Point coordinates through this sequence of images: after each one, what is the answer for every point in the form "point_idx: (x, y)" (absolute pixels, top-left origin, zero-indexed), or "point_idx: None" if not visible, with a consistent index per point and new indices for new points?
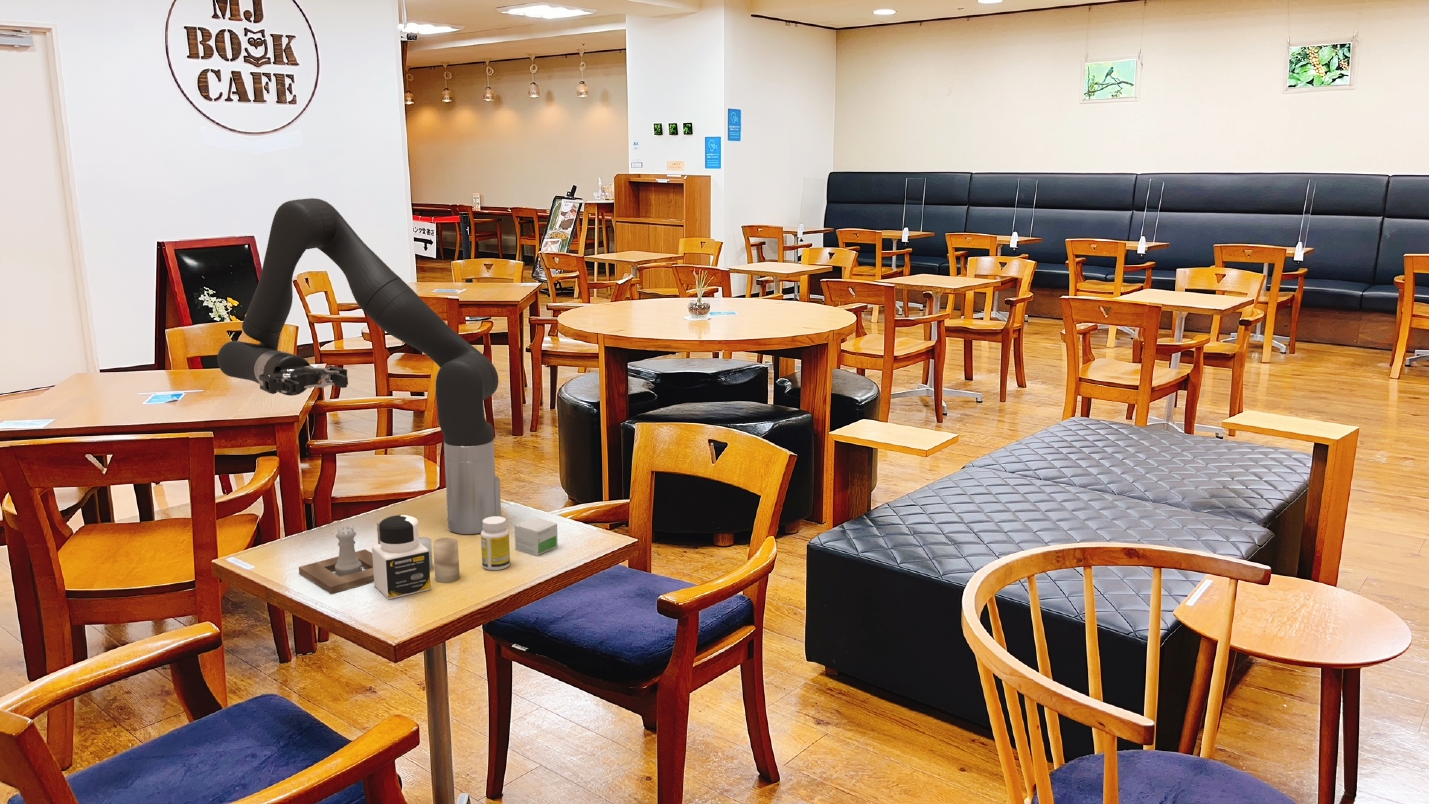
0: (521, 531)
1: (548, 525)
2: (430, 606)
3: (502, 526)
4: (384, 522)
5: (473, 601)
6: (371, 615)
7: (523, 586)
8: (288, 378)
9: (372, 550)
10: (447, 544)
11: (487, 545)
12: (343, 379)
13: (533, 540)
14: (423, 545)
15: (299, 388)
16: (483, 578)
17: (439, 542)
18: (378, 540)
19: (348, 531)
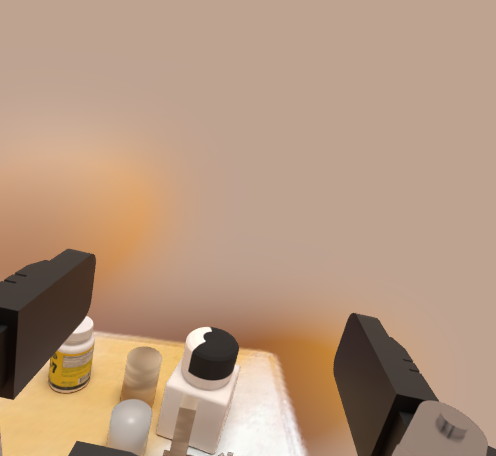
0: None
1: None
2: None
3: None
4: (233, 345)
5: (174, 350)
6: (263, 398)
7: (116, 335)
8: (408, 428)
9: (227, 407)
10: (152, 351)
11: (93, 349)
12: (92, 266)
13: None
14: (141, 401)
15: (342, 337)
16: (116, 371)
17: (152, 360)
18: (190, 434)
19: (231, 453)
